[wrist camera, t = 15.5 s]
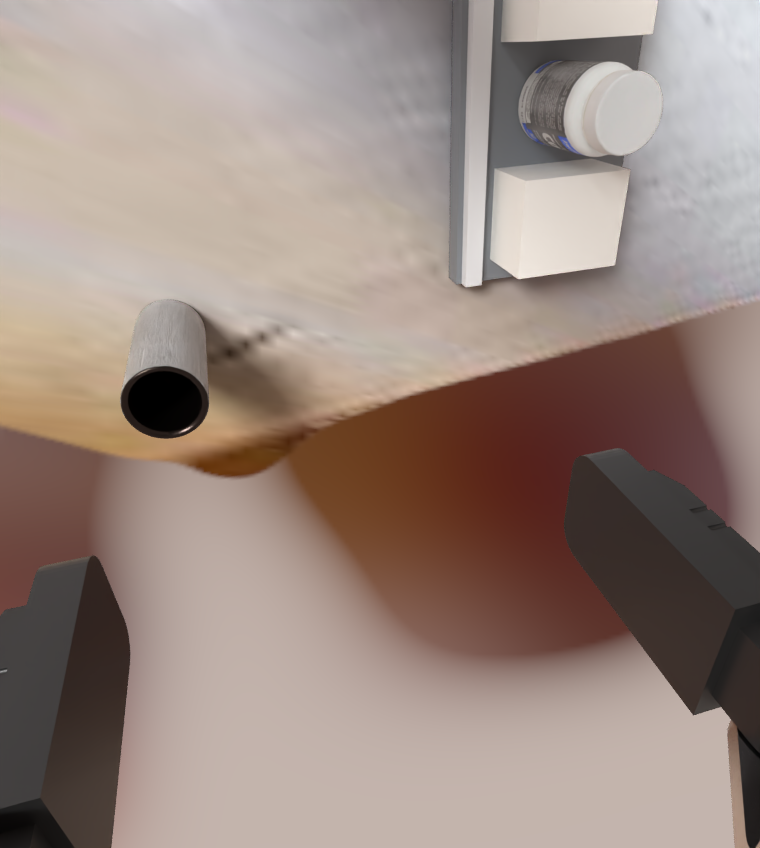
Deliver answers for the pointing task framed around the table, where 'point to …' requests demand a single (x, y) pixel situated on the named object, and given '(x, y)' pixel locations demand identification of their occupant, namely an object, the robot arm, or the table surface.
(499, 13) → the rail board
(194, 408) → the planter
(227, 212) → the table surface
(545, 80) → the pill bottle
